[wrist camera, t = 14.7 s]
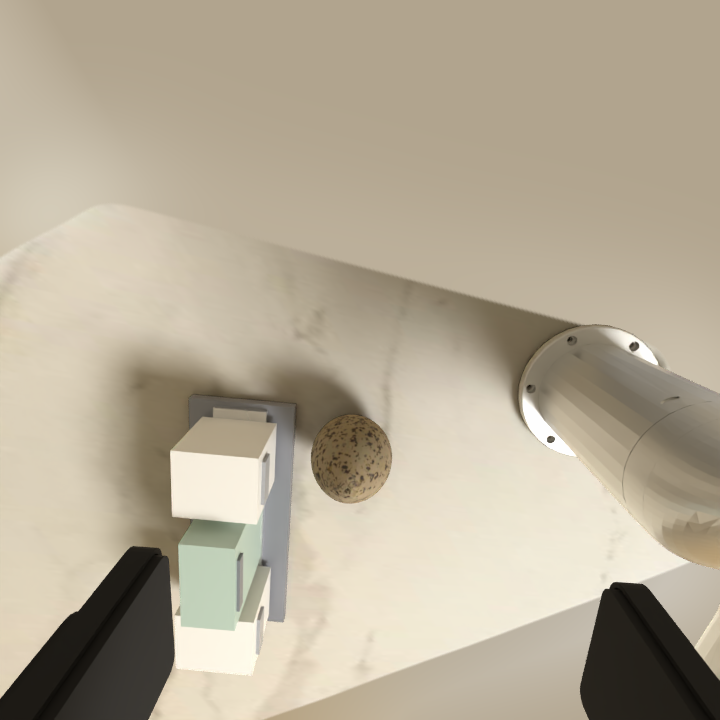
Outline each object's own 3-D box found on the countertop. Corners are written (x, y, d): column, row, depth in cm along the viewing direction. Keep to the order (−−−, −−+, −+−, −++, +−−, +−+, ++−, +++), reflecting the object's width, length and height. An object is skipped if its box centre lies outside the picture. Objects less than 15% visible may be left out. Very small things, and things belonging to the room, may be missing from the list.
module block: (264, 488, 44) (238, 549, 36) (262, 557, 46) (237, 631, 38) (216, 484, 44) (178, 544, 36) (216, 553, 46) (180, 626, 38)
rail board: (296, 403, 44) (278, 443, 35) (285, 614, 50) (267, 689, 42) (192, 394, 44) (150, 431, 35) (195, 606, 50) (160, 679, 42)
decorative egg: (302, 439, 45) (282, 494, 35) (349, 386, 43) (342, 430, 33) (357, 482, 46) (353, 547, 36) (405, 432, 44) (414, 487, 35)
